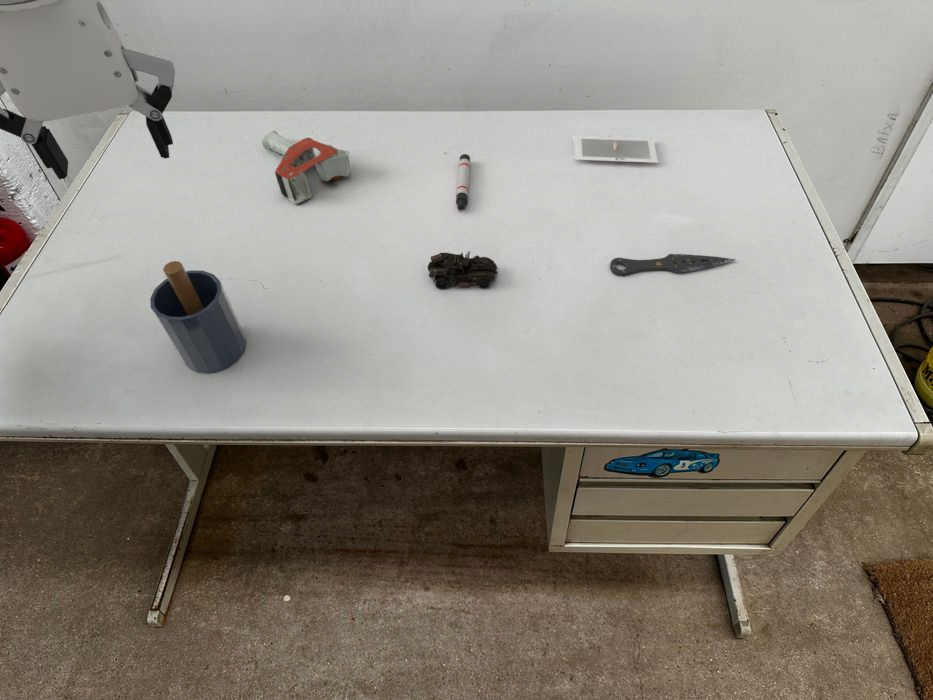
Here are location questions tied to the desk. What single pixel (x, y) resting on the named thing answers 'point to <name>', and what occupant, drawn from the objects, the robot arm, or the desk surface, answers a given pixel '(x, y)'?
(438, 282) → the toy car
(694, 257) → the throwing knife
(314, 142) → the tape dispenser
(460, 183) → the marker
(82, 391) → the desk surface
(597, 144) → the touchpad
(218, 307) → the pen cup
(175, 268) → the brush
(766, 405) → the desk surface
